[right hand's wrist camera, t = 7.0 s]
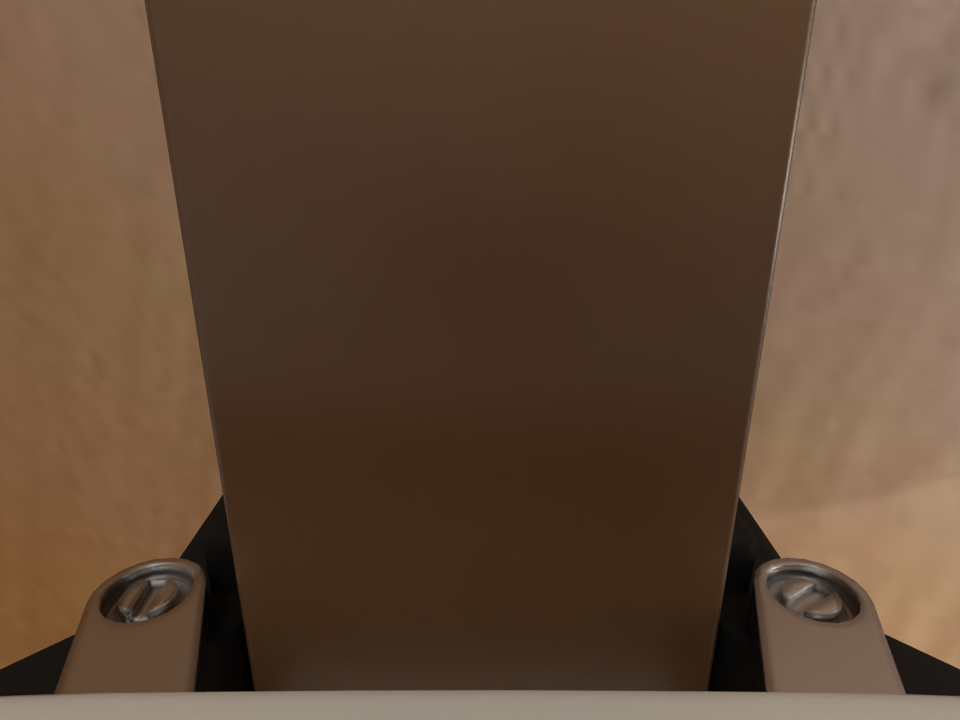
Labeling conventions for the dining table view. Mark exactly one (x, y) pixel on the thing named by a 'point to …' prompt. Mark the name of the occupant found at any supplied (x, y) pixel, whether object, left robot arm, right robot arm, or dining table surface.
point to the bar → (480, 323)
